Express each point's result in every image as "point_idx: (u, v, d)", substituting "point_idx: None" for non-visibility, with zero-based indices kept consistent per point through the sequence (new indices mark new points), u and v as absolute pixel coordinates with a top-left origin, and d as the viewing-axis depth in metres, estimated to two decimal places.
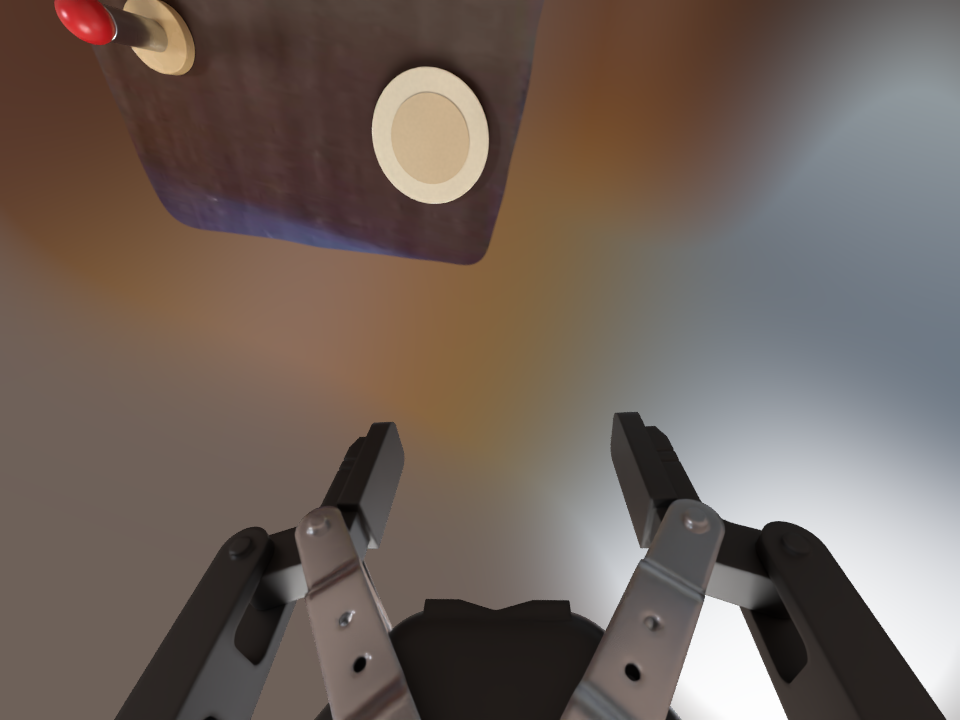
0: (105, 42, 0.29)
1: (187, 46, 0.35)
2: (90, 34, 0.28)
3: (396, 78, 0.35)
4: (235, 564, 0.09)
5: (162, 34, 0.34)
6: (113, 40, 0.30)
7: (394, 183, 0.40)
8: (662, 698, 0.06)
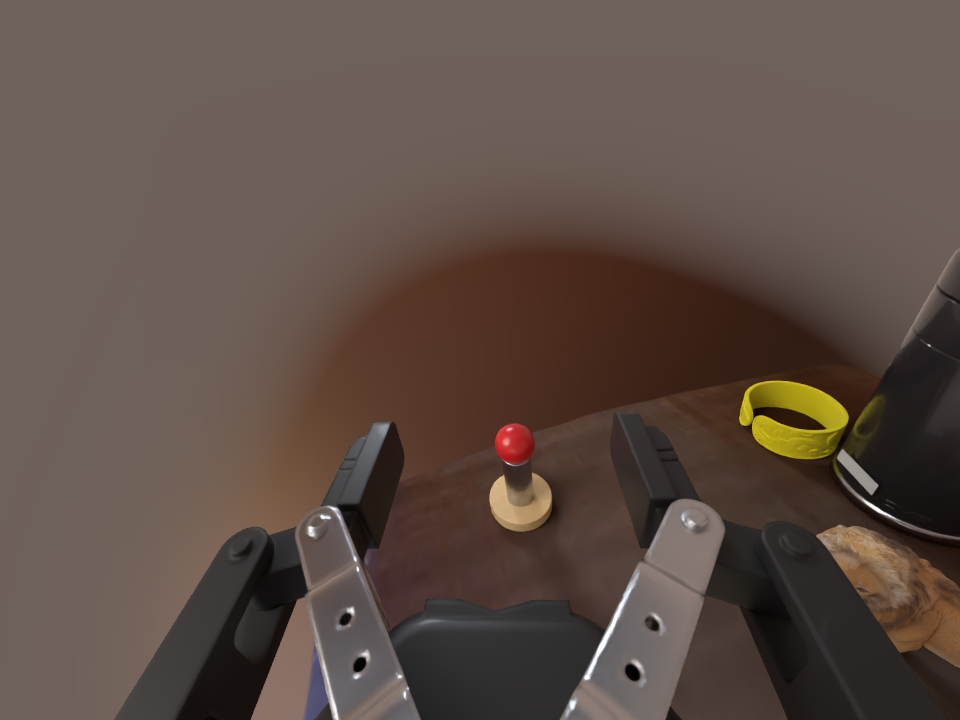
0: (501, 456, 0.29)
1: (526, 524, 0.31)
2: (504, 445, 0.28)
3: None
4: (235, 564, 0.09)
5: (525, 502, 0.32)
6: (505, 462, 0.30)
7: None
8: (662, 698, 0.06)
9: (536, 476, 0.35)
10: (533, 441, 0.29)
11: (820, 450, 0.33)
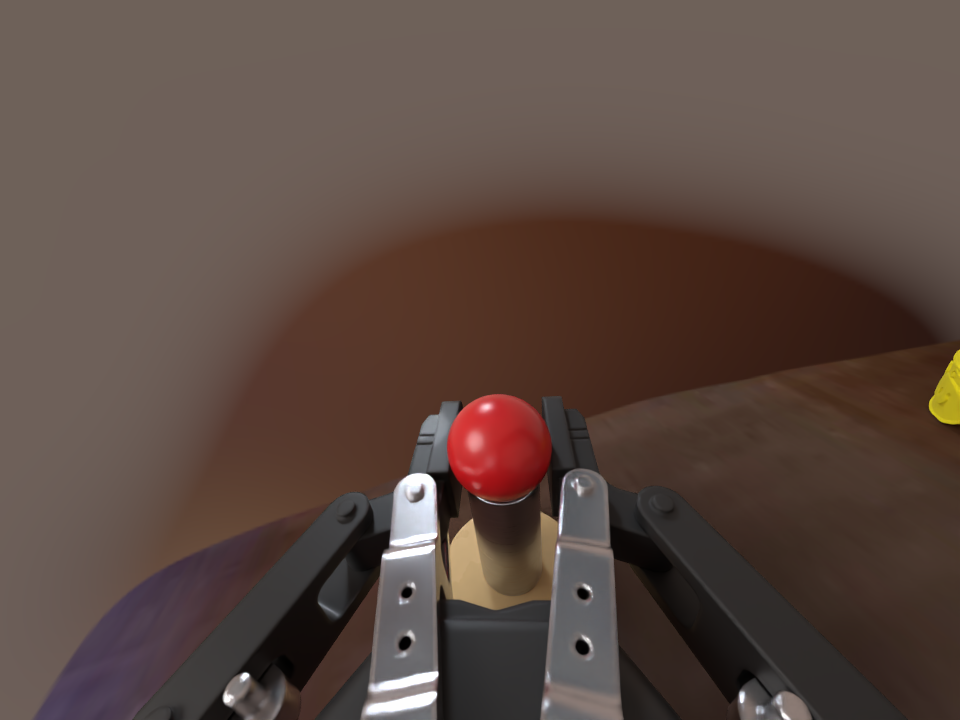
0: (461, 480, 0.11)
1: None
2: (467, 450, 0.10)
3: None
4: (337, 523, 0.10)
5: (524, 587, 0.14)
6: (472, 496, 0.12)
7: None
8: (611, 656, 0.06)
9: (547, 520, 0.16)
10: (548, 441, 0.11)
11: None
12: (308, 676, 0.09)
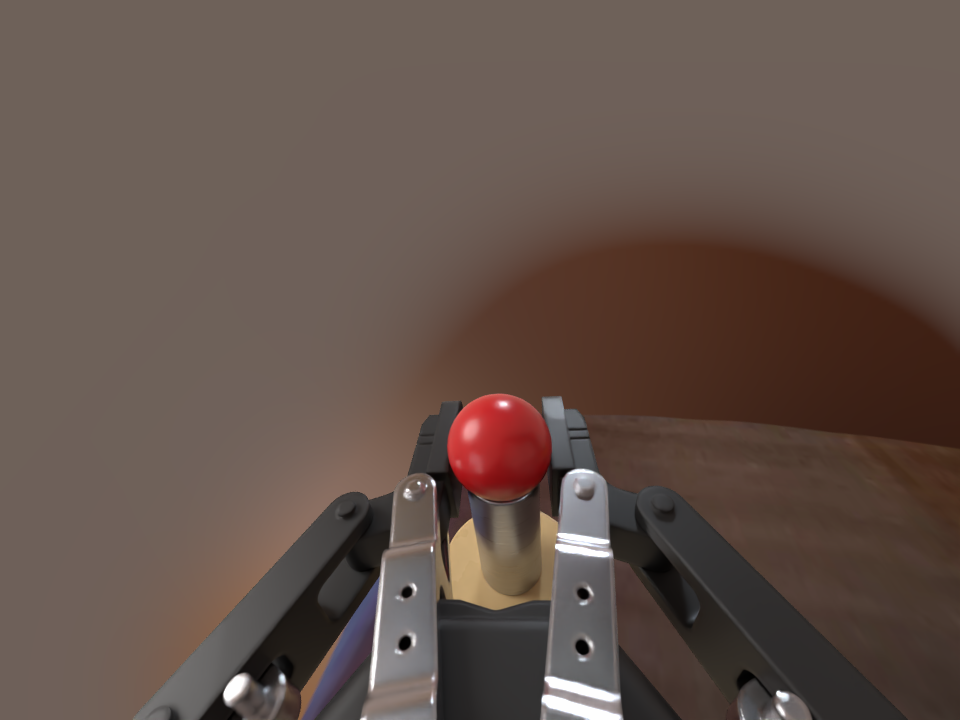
0: (461, 480, 0.11)
1: None
2: (467, 449, 0.10)
3: None
4: (337, 523, 0.10)
5: (523, 586, 0.14)
6: (472, 495, 0.12)
7: None
8: (611, 656, 0.06)
9: (547, 519, 0.16)
10: (548, 440, 0.11)
11: None
12: (308, 676, 0.09)
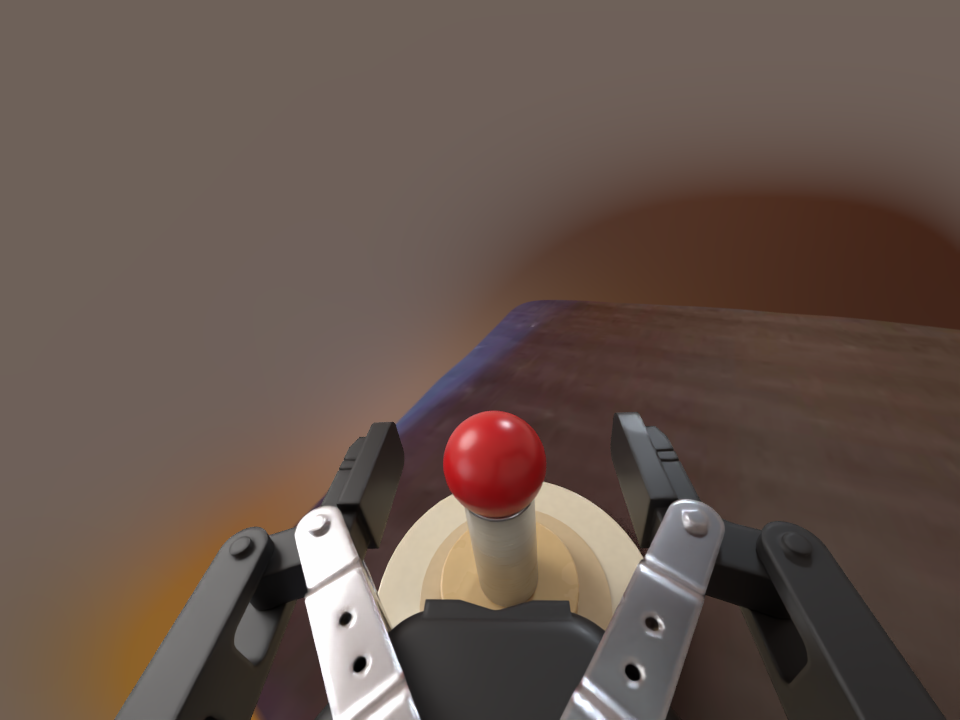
0: (457, 497, 0.11)
1: None
2: (463, 467, 0.10)
3: None
4: (235, 564, 0.09)
5: (520, 598, 0.14)
6: (468, 511, 0.12)
7: None
8: (662, 698, 0.06)
9: (544, 530, 0.17)
10: (543, 457, 0.11)
11: None
12: None
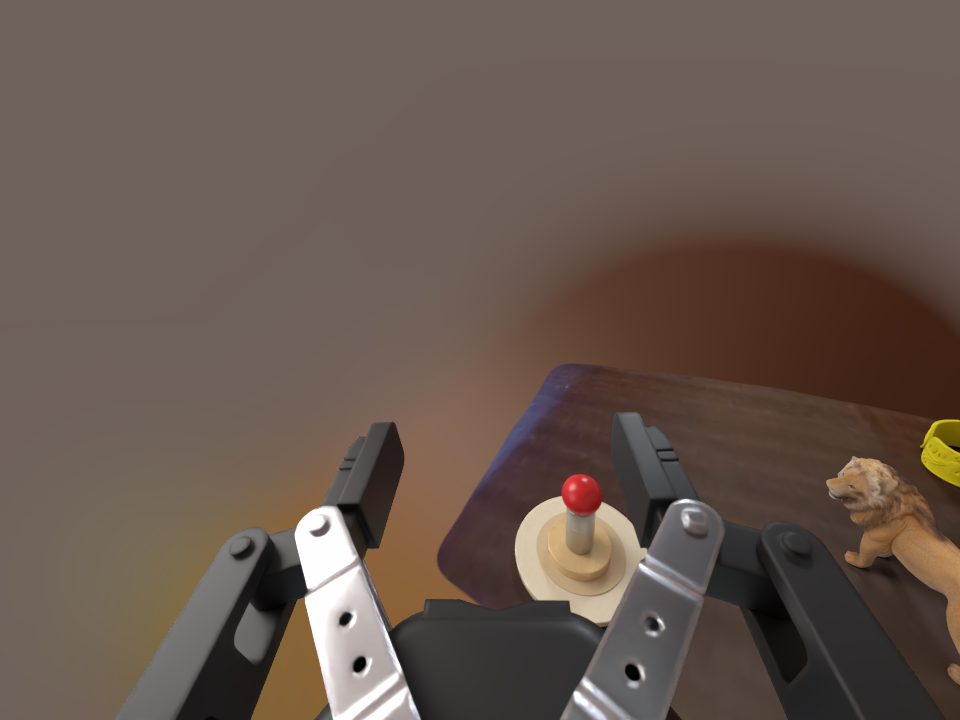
0: (570, 508, 0.29)
1: (589, 574, 0.31)
2: (574, 498, 0.29)
3: None
4: (235, 564, 0.09)
5: (587, 550, 0.32)
6: (571, 513, 0.30)
7: (547, 501, 0.39)
8: (662, 698, 0.06)
9: None
10: (601, 493, 0.29)
11: None
12: None
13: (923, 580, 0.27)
